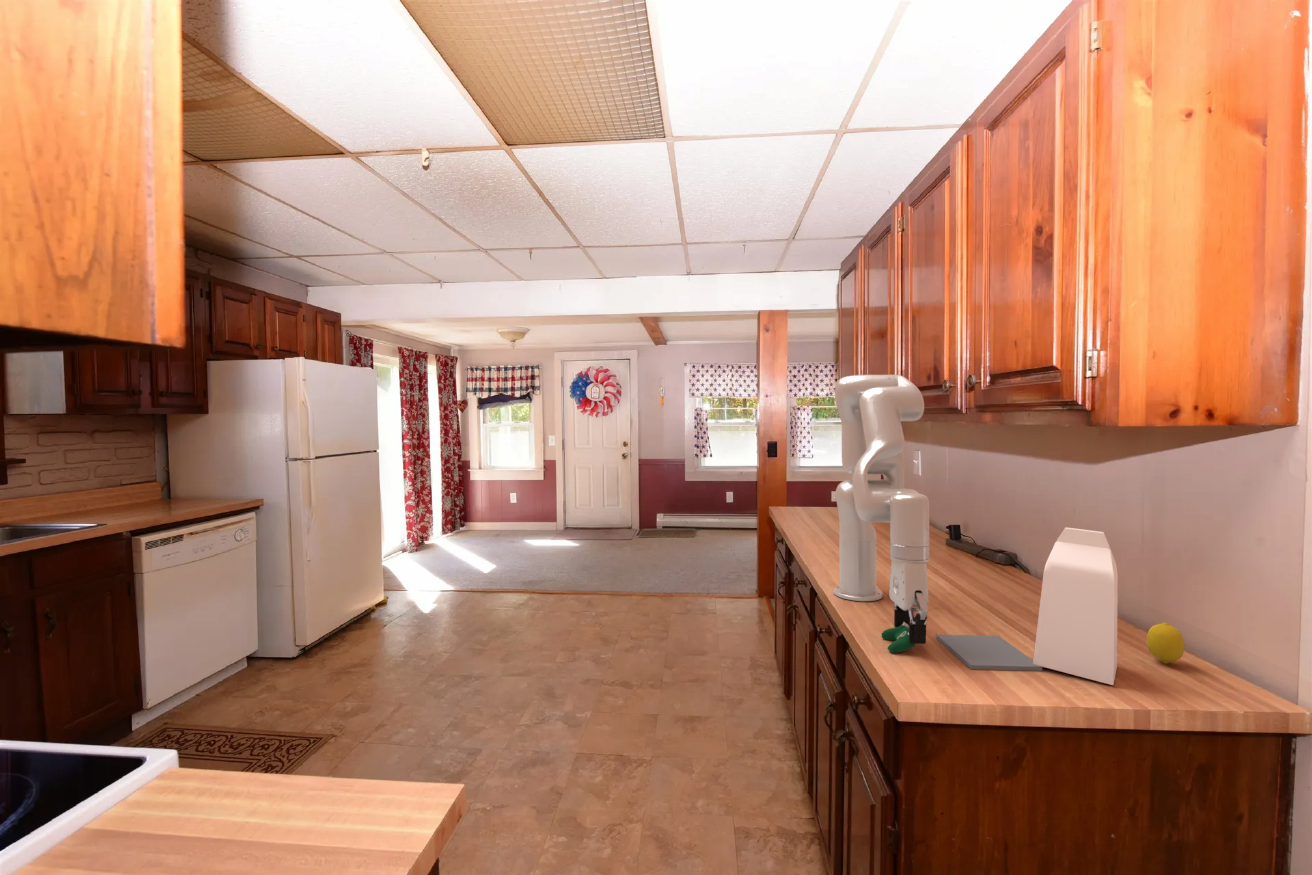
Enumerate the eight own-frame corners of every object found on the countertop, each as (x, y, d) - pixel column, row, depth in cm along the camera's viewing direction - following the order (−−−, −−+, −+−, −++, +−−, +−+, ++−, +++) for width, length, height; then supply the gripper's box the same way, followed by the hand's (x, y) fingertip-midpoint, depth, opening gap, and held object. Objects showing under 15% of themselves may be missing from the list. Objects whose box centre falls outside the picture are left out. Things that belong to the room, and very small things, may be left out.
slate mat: (936, 637, 125) (936, 634, 125) (998, 639, 124) (998, 635, 124) (970, 669, 109) (970, 665, 109) (1042, 670, 108) (1042, 666, 108)
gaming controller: (900, 663, 116) (923, 644, 115) (886, 649, 117) (909, 630, 116) (891, 646, 125) (913, 628, 124) (879, 633, 126) (899, 615, 125)
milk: (1032, 663, 109) (1041, 528, 109) (1042, 647, 118) (1050, 522, 117) (1113, 685, 101) (1123, 539, 101) (1117, 666, 110) (1126, 531, 109)
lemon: (1139, 660, 113) (1140, 619, 112) (1156, 655, 115) (1157, 616, 115) (1173, 671, 108) (1174, 629, 107) (1190, 666, 110) (1191, 625, 109)
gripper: (878, 543, 129) (878, 621, 129) (905, 561, 112) (905, 650, 112) (912, 544, 128) (912, 621, 129) (945, 562, 111) (945, 651, 111)
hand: (909, 634), depth 120 cm, fingers closed on gaming controller, 8 cm apart
